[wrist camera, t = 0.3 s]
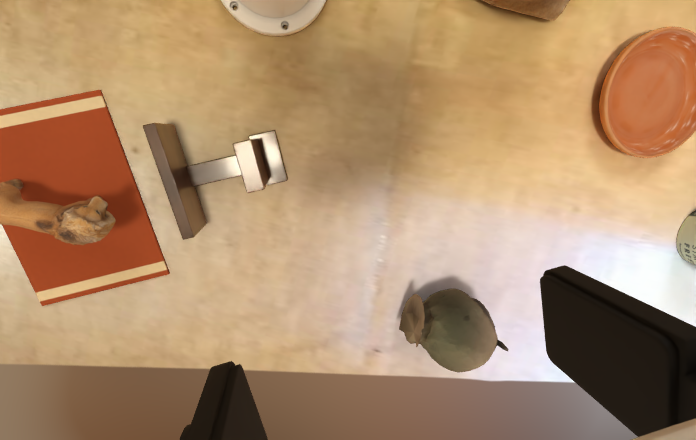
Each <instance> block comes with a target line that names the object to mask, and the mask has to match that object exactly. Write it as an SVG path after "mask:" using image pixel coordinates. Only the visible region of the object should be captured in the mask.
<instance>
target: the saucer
mask: <svg viewBox="0 0 696 440" xmlns="http://www.w3.org/2000/svg"><path fill="white" fill-rule="evenodd" d="M599 112H600V119H601V123H602V127H603V129H604V132H605V134H606V136H607V137H608V139H609V140H610V141H611V143H612V144H613V145H614V146H615V147H617V148H618V149H619V150H621V151H622V152H624V153H626V154H629V155H632V156H636V157H642V158H651V157H657V156H661V155H664V154H666V153H669V152H671V151H673V150H675V149H676V148H678V147H679V146H680V145H682V144H683V143H684V142H685V141H686V140H688V139H689V138H690V137H691V135H692V134H693V133H694V132H695V131H696V34H695V33H694V32H692V31H690V30H687V29H684V28H680V27H664V28H660V29H656V30H653V31H651V32H648V33H646V34H644V35H642V36H640V37H639V38H637V39H635V40H634V41H633V42H631V43H630V44H629V45H628V46H627V47H626V48H625V49H624V50H623V51H622V52H621V53H620V54H619V55H618V57H617V58H616V59H615V61H614V62H613V64H612V65H611V67H610V69H609V71H608V73H607V75H606V78H605V80H604V83H603V86H602V89H601V94H600V101H599Z"/></svg>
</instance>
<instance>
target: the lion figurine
mask: <svg viewBox="0 0 696 440" xmlns="http://www.w3.org/2000/svg"><path fill="white" fill-rule="evenodd" d="M23 186H24V185H23V183H22V181H21V180H18V179H13V180H9V181H6V182H1V183H0V224H2V225H12V226H19V227H23V228H26V229H30V230H34V231H38V232H43V233H48V234H50V235H53V236H54V237H55V238H56V239H58V240H61V241H62V242H65V243H70V244H73V245H76V244H77V245H79V244H80V245H85V244H88V243H94V242H97V241H100V240H101V239H102V238H104V237H105V236H107V235H108V233H109V232H110V230H111V229H112V227H113V226H114V224H115V221H116V220H115V218H114V217H113V215H112V214H110V213H109V212H108V211H106V210H107V206H108V204H107V202H106V201H104V200H103V199H102V197H100V196H99V195H97V196H94V197H92V198H90V199H88V200H86V201H78V202H76V203H72V204H69V205H66V206H61V205H58V204H52V203H46V202H39V201H24V200H23V199H22V197H21V193H20V191H19V189H22V187H23Z"/></svg>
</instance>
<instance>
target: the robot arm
mask: <svg viewBox="0 0 696 440" xmlns="http://www.w3.org/2000/svg"><path fill="white" fill-rule="evenodd" d="M221 2H222V3H223V5H224V6H225V8H226V9H227V11H228V12H229V13H230V14H231V15H232V16H233V17H234V18H235V19H236V20H237V21H238V22H240V23H241V24H242V25H244V26H245V27H246V28H248V29H251V30H253V31H255V32H257V33H260V34H264V35H267V36H285V35H291V34H293V33H296V32H299V31H301V30H302V29H304V28H305V27H307V26H309V25H310V24H311V23H312V22H313V21H314V20H315V19H316V18H317V16H318V15H319V13H320V12H321V10H322V9H323V7H324V4H325V2H326V0H221ZM234 6H237V10H233V7H234ZM284 25H286V26H287V27H288V28H287V29H283V26H284ZM540 286H541V297H542V308H543V319H544V330H545V341H546V351H547V354H548V356H549V358H550V360H551V361H552V362H553V363H554V364H555V365H556V366H557V367H558V368H559V369H561V370H562V371H563V372H564V373H565V374H566V375H567V376H569V377H570V378H571V379H572V380H573V381H574V382H576V383H577V384H578V385H579V386H580V387H581V388H583V389H584V390H585V391H586V392H587V393H588V394H589V395H591V396H592V397H593V398H594V399H595V400H596V401H598V402H599V403H600V404H601V405H602V406H603V407H604V408H605V409H607V410H608V411H609V412H610V413H611V414H612V415H614V416H615V417H616V418H617V419H618V420H619V421H621V422H622V423H623V424H624V425H625V426H626V427H628V428H629V429H630V430H631V431H632V432H633V433H634V434H635V435H637V436H638V437H637V438H635V439H632V440H696V327H695V326H692V325H690V324H688V323H686V322H684V321H682V320H680V319H678V318H676V317H673V316H671V315H669V314H667V313H665V312H663V311H661V310H659V309H656V308H654V307H652V306H650V305H648V304H646V303H644V302H642V301H640V300H637V299H635V298H633V297H631V296H629V295H627V294H625V293H623V292H621V291H618V290H616V289H614V288H612V287H610V286H608V285H606V284H604V283H602V282H599V281H597V280H595V279H593V278H591V277H589V276H587V275H585V274H582V273H580V272H578V271H576V270H574V269H572V268H570V267H568V266H560V267H557V268H553V269H550V270H546V271H545V272H544V276H543V277H541V279H540ZM180 440H268V439H267V436H266V433H265V430H264V427H263V424H262V421H261V419H260V416H259V413H258V410H257V407H256V404H255V402H254V399H253V396H252V393H251V391H250V387H249V385H248V382H247V379H246V376H245V373H244V371H243V368H242V366H241V365H240V364H239V365H236V366H235V364H234V363H233V362H232V361H231V362H227V363H224V364H220V365H217V366H213V367H211V369H210V372H209V375H208V378H207V380H206V383H205V386H204V389H203V392H202V394H201V397H200V400H199V403H198V406H197V409H196V411H195V414H194V417H193V420H192V423H191V424H190V425H187V426H186V427H185V428H184V430H183V432H182V435H181V437H180Z"/></svg>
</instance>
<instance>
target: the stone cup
mask: <svg viewBox="0 0 696 440" xmlns="http://www.w3.org/2000/svg"><path fill="white" fill-rule="evenodd" d="M482 1H484V2H486V3H488V4H491V5H493V6H496V7H500V8H503V9H507V10H511V11H515V12H519V13H522V14H527V15H531V16H535V17H539V18H543V19H548V20H555V19H556V18H557V17H558V16H559V15H560V14H561V13H562V12H563V10H564V9H565V7H566V5H567V4H568V2H569V1H570V0H482Z"/></svg>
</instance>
